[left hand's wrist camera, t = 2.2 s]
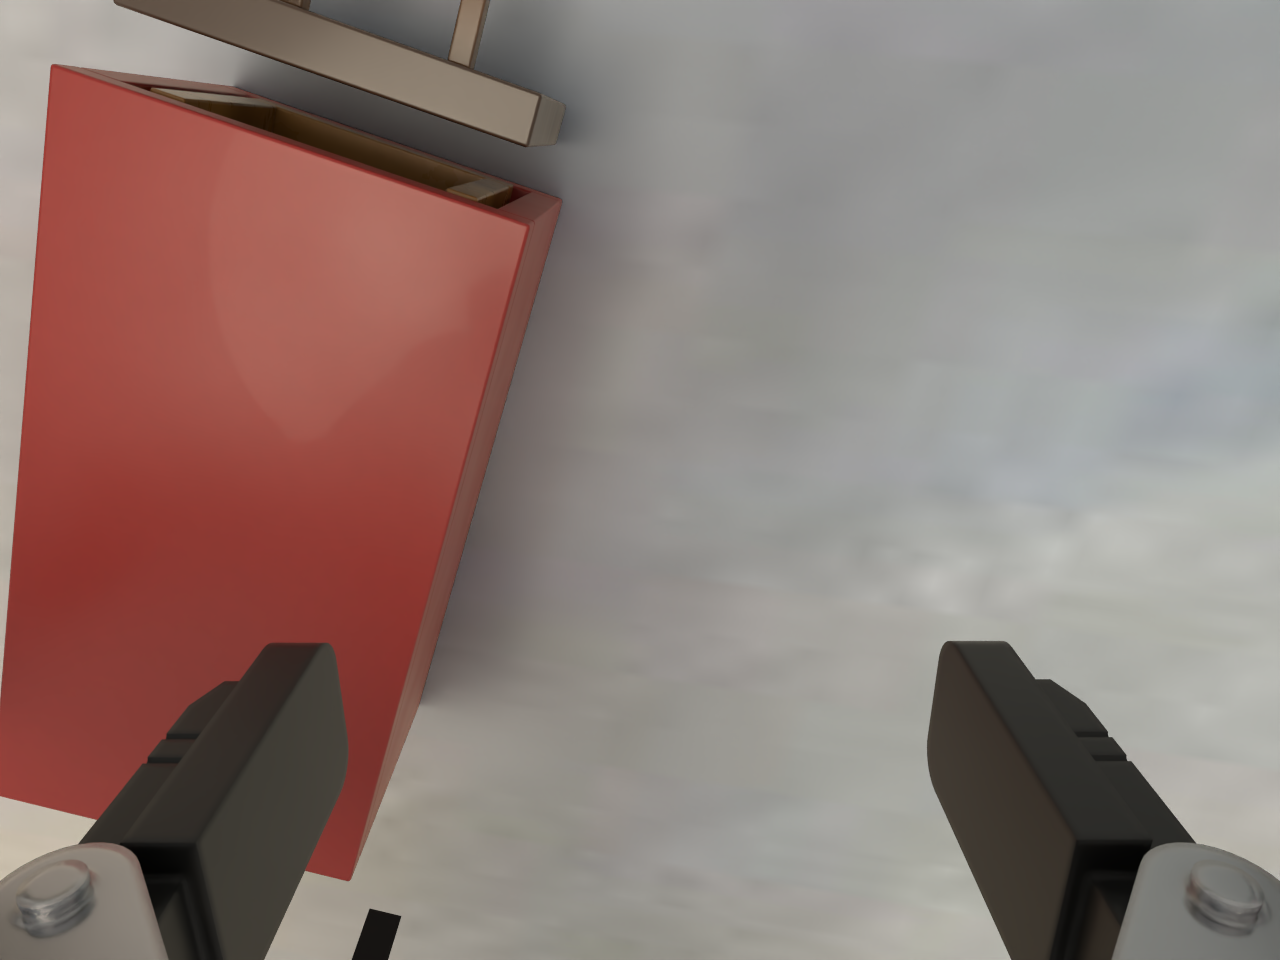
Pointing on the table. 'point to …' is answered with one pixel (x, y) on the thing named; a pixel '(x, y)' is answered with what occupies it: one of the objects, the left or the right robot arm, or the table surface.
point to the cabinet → (242, 431)
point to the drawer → (369, 84)
